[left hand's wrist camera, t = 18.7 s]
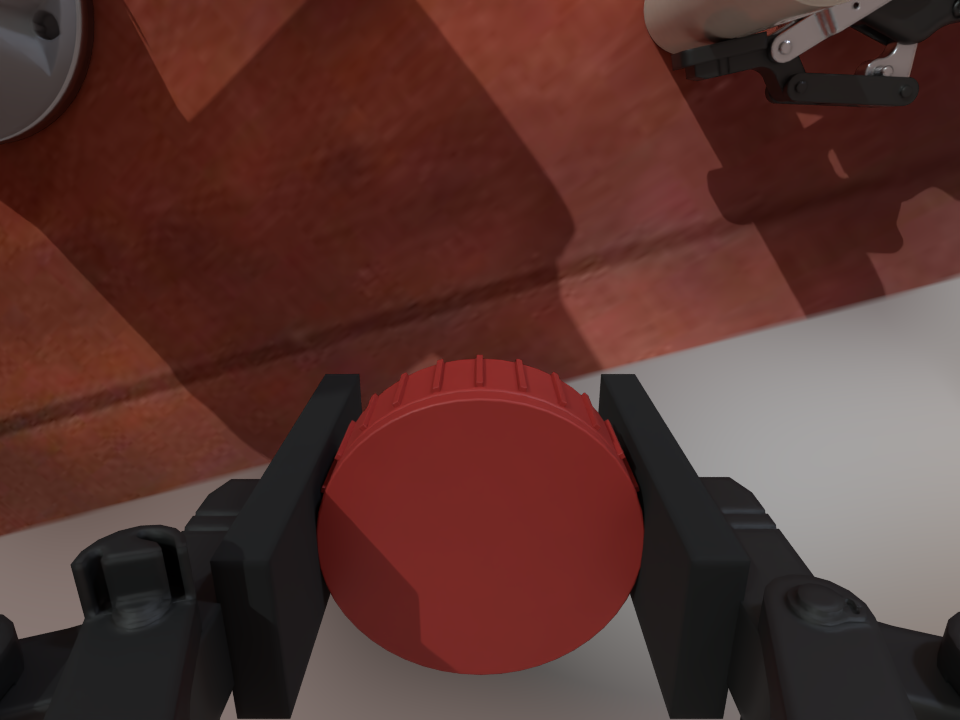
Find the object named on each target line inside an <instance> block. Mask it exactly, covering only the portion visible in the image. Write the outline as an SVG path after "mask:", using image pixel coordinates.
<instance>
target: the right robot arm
mask: <svg viewBox="0 0 960 720" xmlns="http://www.w3.org/2000/svg"><path fill="white" fill-rule="evenodd" d="M957 22H960V0H851V1H849V2H846V3H843V4H840V5H837V6H834V7H831V8H828V9H825V10H822V11H820V12H817V13H814V14H811V15H808V16H805V17H802V18H799V19H796V20H793V21H790V22H788V23H787V24H785V25H783V26H782V27H780V28H779V29H777V30H775V31H774V32H772V33H771V34H769V35H768V36H767V31H766V32H761V33H757V34H753V35H749V36H746V37H740V38H736V39H731V40H727V41H723V42H718V43H714V44H710V45H706V46H701V47H697V48H693V49H689V50H685V51H681V52H678V53H675V54H673V55H671V57H672V67H673V70H678V69H682V68H685V70H686V79H689V80H695V81H700V80H704V79H709V78H713V77H718V76H722V75H726V74H731V73H735V72H740V71H744V70H748V69H752V70H755V71H757V72H759V73H760V74H761V75H762V77H763V79H764V81H765V84H766V89H765V95H766V98H767V100H768V101H769V102H771V103H777V104H801V105H826V106H851V107H890V106H905V105H908V104H910V103H911V102H913V101H914V100H915V98H916V97H917V95H918V92H919V85H918V82H917V81H916V80H915V79H914V78H911V77H909V76H910V72H911V68H912V64H913V60H914V56H915V52H916V48H917V44H918V43H919V42H921V41H923V40H925V39H927V38H928V37H929V36H931V35H932V34H933V33H934V32H935V31H937V30H938V29H940V28H941V27H943V26H945V25H948V24H952V23H957ZM849 26H850V27H852V28H853V29H855V30H857V31H859V32H861V33H863V34H865V35H866V36H868V37H870V38H872V39H874V40H876V41H877V42H879V43H881V44H883V45H885V46H886V47H885V49H884V51H883V53H882V54H881V55H880V56H879V57H878V58H876V59H873V60H868V61H865V62H863V63H861V64H860V65H859V66H858V68H857V69H856V72H855V74H854V75H846V74H822V73H806V72H805V70H804V68H803V65H802V63H801V60H800V58H799V56H798V55H800V54H802V53H803V52H805V51H807V50H808V49H810V48H811V47H813V46H815V45H816V44H818V43H820V42H821V41H823V40H825V39H826V38H828V37H831V36H833V35H835V34H837V33H839V32H841V31H842V30H844V29H846V28H847V27H849Z"/></svg>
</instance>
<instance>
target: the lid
mask: <svg viewBox="0 0 960 720" xmlns="http://www.w3.org/2000/svg"><path fill="white" fill-rule="evenodd" d="M638 491H640V490H639V486H638V484H637V482H636V480H635V477H634V475H633V473H632V470H631V468H630V466H629V464H628V461H627V459H626V457H625V454H624V452H623V450H622V448H621V446H620V444H619V441H618V439H617V437H616V434H615V432H614V430H613V428H612V425H611V423H610V421H609V420H608V419H607V420H606V421H603V419H602V418H601V416H600V415H599V413H598V412H597V411H596V410H595V409H594V408H593V406H592V404H591V401H590V399H589V396H588V395H587V394H586V393H583V394H582V395H580V394H579V393H578V392H577V391H575V390H574V389H573V388H572V387H570V386H569V385H567V384H566V383H564V382H562V381H561V380H560V379H559V376H558V374H557V373H555V372H553V373H552V374H551V375H550V374H547V373H545V372H543V371H541V370H539V369H536V368H533V367H530V366H526V365H523V363H522V360H519V359H516V361H515V362H509V361H504V360H496V359H483V355H477V359H465V360H456V361H451V362H446V363H444V360H443V359H441V360H438V361H437V365H434V366H431V367H428V368H425V369H422V370H420V371H417V372H415V373H413V374H411V375H409V376H408V374H407V373H404V374H402V375H401V378H400V381H398V382H397V383H395V384H394V385H392V386H390V387H389V388H387V389H386V390H385V391H384V392H383V393H382V394H380V395H379V396H378V395H377V394H376V393H375V394H374V395H373V396H372V397H371V399H370V402H369V404H368V407H367V408H366V409H365V411H364V412H363V413H362V414H361V415H360V417H359V418H358V420H357V422H355V421H353V420H352V421H351V422H350V424H349V426H348V429H347V431H346V433H345V435H344V438H343V440H342V442H341V445H340V447H339V449H338V451H337V454H336V456H335V458H334V461H333V463H332V465H331V468H330V470H329V472H328V474H327V477H326V479H325V481H324V484H323V486H322V489H321V492H322V493H324V494H323V497H322V501H321V504H320V508H319V511H318V517H317V525H316V535H317V546H318V555H319V564H320V568H321V571H322V574H323V577H324V580H325V583H326V585H327V587H328V589H329V591H330V593H331V595H332V597H333V599H334V600H335V602H336V603H337V605H338V606H339V607H340V609H341V610H342V612H343V613H344V614H345V616H346V617H347V618H348V619H349V620H350V621H351V622H352V623H353V624H354V625H355V626H356V627H357V628H358V629H359V630H360V631H361V632H362V633H363V634H365V635H366V636H367V637H368V638H370V639H371V640H372V641H373V642H375V643H376V644H378V645H380V646H381V647H383V648H384V649H386V650H387V651H389V652H391V653H393V654H395V655H397V656H399V657H401V658H403V659H405V660H408V661H410V662H413V663H416V664H419V665H421V666H425V667H428V668H432V669H436V670H440V671H446V672H452V673H459V674H474V675H487V674H502V673H508V672H515V671H521V670H525V669H528V668H532V667H536V666H540V665H542V664H545V663H547V662H550V661H553V660H555V659H558V658H560V657H562V656H564V655H566V654H568V653H569V652H571V651H573V650H575V649H577V648H578V647H579V646H581V645H582V644H584V643H586V642H587V641H589V640H590V639H591V638H592V637H594V636H595V635H596V634H597V633H598V632H599V631H601V630H602V629H603V628H604V627H605V626H606V625H607V624H608V623H609V622H610V621H611V619H612V618H613V617H614V616H615V615H616V614H617V613H618V611H619V610H620V608H621V607H622V605H623V604H624V603H625V601H626V600H627V598H628V596H629V594H630V592H631V590H632V588H633V586H634V584H635V582H636V579H637V576H638V573H639V570H640V567H641V559H642V550H643V540H644V520H643V513H642V508H641V505H640V502H639V498H638V495H637V492H638Z"/></svg>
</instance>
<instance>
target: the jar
mask: <svg viewBox="0 0 960 720" xmlns="http://www.w3.org/2000/svg"><path fill="white" fill-rule="evenodd" d="M849 1H851V0H645V3H644V18H645V24H646V27H647V30H648V32H649V34H650V36H651V37H652V39H653V40H654V41H655V43H656V44H657V45H658V46H660V47H661V48H662V49H664V50H665V51H667V52H670V53H672V54H675V53H678V52H681V51H685V50H689V49H693V48H697V47H701V46H706V45H710V44H714V43H718V42H723V41H727V40H731V39H736V38H740V37H746V36H749V35H752V34H755V33H758V32H761V31H764V30H767V29H769V28H772V27H775V26H778V25H781V24H784V23H787V22H790V21H793V20H796V19H799V18H802V17H805V16H808V15H811V14H814V13H817V12H820V11H822V10H825V9H828V8H831V7H834V6H837V5H840V4H843V3H846V2H849Z"/></svg>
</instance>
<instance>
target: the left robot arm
mask: <svg viewBox="0 0 960 720" xmlns="http://www.w3.org/2000/svg"><path fill="white" fill-rule="evenodd" d="M93 40H94V13H93V3H92V0H0V144H4V143H9V142H14V141H17V140H21V139H24V138H26V137H29V136H31V135H33V134H36V133H37V132H39V131H41V130H43V129H44V128H46V127H47V126H49V125H50V124H51V123H53V122H54V121H55V120H56V119H57V118H58V117H59V116H60V115H61V114H62V113H63V112H64V111H65V110H66V109H67V108H68V106H69V105H70V104H71V103H72V101H73V100H74V98H75V96H76V95H77V93H78V92H79V90H80V88H81V85H82V83H83V81H84V79H85V76H86V73H87V70H88V67H89V63H90V59H91V55H92V48H93ZM598 413H599V415H600V416H601V418H602V419H603V421H606V420H607V419H608V420H609V421H610V423H611V425H612V428H613V430H614V432H615V434H616V437H617V439H618V441H619V444H620V446H621V448H622V450H623V452H624V454H625V457H626V459H627V461H628V464H629V466H630V468H631V470H632V473H633V475H634V477H635V480H636V482H637V484H638V486H639V490H640V491H638V492H637V495H638V498H639V502H640V505H641V508H642V513H643V520H644V540H643V550H642V559H641V567H640V570H639V573H638V576H637V579H636V582H635V584H634V586H633V588H632V590H631V592H630V595H631V598H632V601H633V604H634V607H635V611H636V614H637V617H638V620H639V623H640V626H641V629H642V632H643V636H644V639H645V642H646V645H647V648H648V651H649V654H650V657H651V661H652V664H653V667H654V670H655V673H656V676H657V679H658V682H659V686H660V689H661V692H662V695H663V698H664V701H665V704H666V707H667V711H668V714H669V717H670V719H723V716H724V710H725V704H726V698H727V693H728V688H729V690H730V692H731V695H732V697H733V699H734V702H735V704H736V706H737V708H738V710H739V713H740V715H741V718H740V720H960V612H958V613H957V614H955V615H954V616H953V617H951V618H950V619H949V620H948V623H947V626H946V629H945V632H944V635H943V637H941V636H936V635H932V634H927V633H922V632H918V631H913V630H909V629H904V628H900V627H895V626H891V625H888V624H884V623H881V622H877V621H876V618H875V617H874V615H873V614H872V612H871V611H870V609H869V608H868V606H867V605H866V604H865V603H864V602H863V601H862V600H860V599H859V598H858V597H857V596H855V595H854V594H853V593H852V592H850V591H849V590H847V589H845V588H843V587H841V586H839V585H837V584H835V583H833V582H831V581H828V580H824V579H820V578H817V577H814V576H813V574H812V573H811V572H810V570H809V569H808V568H807V566H806V565H805V563H804V562H803V561H802V559H801V558H800V557H799V555H798V554H797V553H796V551H795V550H794V549H793V547H792V546H791V545H790V543H789V542H788V540H787V539H786V538H785V536H784V535H783V534H782V532H781V531H780V530H779V529H776V524H775V523H774V522H773V520H772V519H771V518H770V516H769V515H768V514H765V509H764V508H763V507H762V505H761V504H760V503H759V501H758V500H757V499H756V497H755V496H754V495H753V493H752V492H750V491H749V490H747V489H746V488H745V487H743V486H742V485H740V484H739V483H737V482H736V481H734V480H733V479H731V478H730V477H698V475H697V473H696V472H695V470H694V469H693V467H692V465H691V464H690V462H689V461H688V459H687V458H686V456H685V454H684V453H683V451H682V449H681V448H680V446H679V445H678V443H677V441H676V440H675V438H674V437H673V435H672V433H671V432H670V430H669V428H668V427H667V425H666V424H665V422H664V420H663V419H662V417H661V416H660V414H659V412H658V411H657V409H656V408H655V406H654V404H653V403H652V401H651V399H650V398H649V396H648V395H647V393H646V391H645V390H644V388H643V387H642V385H641V383H640V382H639V380H638V379H637V377H636V375H635V374H601V384H600V398H599V412H598ZM361 414H362V407H361V392H360V378H359V374H325V376H324V378H323V379H322V381H321V382H320V384H319V386H318V387H317V389H316V390H315V392H314V394H313V395H312V397H311V398H310V400H309V402H308V403H307V405H306V407H305V408H304V410H303V411H302V413H301V415H300V416H299V418H298V419H297V421H296V423H295V424H294V426H293V427H292V429H291V431H290V432H289V434H288V436H287V437H286V439H285V440H284V442H283V444H282V445H281V447H280V448H279V450H278V452H277V453H276V455H275V456H274V458H273V460H272V461H271V463H270V464H269V466H268V468H267V469H266V471H265V473H264V474H263V476H262V477H261V479H231V480H229V481H228V482H226V483H225V484H224V485H222V486H221V487H219V488H218V489H216V490H215V491H213V492H212V493H210V494H209V495H208V496H207V498H206V499H205V500H204V502H203V503H202V504H201V506H200V507H199V509H198V510H197V511H196V515H195V516H193V517H192V518H191V519H190V521H189V522H188V523H187V525H186V526H185V531H182V532H180V531H179V530H177V529H176V528H172V527H168V526H163V525H145V526H138V527H133V528H129V529H125V530H121V531H118V532H115V533H113V534H111V535H108V536H106V537H104V538H101V539H99V540H97V541H96V542H94V543H93V544H92V545H90V546H89V547H87V548H86V549H84V550H83V551H81V553H80V554H79V555H78V556H77V557H76V559H75V560H74V561H73V562H72V564H71V568H72V572H73V576H74V579H75V583H76V587H77V591H78V594H79V598H80V602H81V606H82V609H83V613H84V617H85V619H84V622H83V624H82V625H78V626H75V627H71V628H68V629H64V630H59V631H54V632H50V633H45V634H41V635H37V636H32V637H27V638H23V639H18V637H17V634H16V631H15V627H14V624H13V622H12V621H10V620H9V619H8V618H7V617H5V616H4V615H1V614H0V720H220V717H221V714H222V712H223V710H224V708H225V706H226V703H227V701H228V699H229V696H230V694H231V692H232V691H233V696H234V702H235V708H236V713H237V718H238V719H290V718H291V715H292V712H293V709H294V705H295V702H296V699H297V696H298V693H299V690H300V686H301V683H302V680H303V677H304V674H305V671H306V668H307V665H308V662H309V659H310V656H311V652H312V649H313V646H314V643H315V640H316V637H317V633H318V630H319V627H320V624H321V621H322V618H323V615H324V612H325V609H326V605H327V602H328V599H329V596H330V591H329V589H328V587H327V585H326V583H325V580H324V577H323V574H322V571H321V568H320V564H319V555H318V546H317V535H316V525H317V517H318V511H319V508H320V504H321V501H322V497H323V494H324V493H322V492H321V489H322V486H323V484H324V481H325V479H326V477H327V474H328V472H329V470H330V468H331V465H332V463H333V461H334V458H335V456H336V454H337V451H338V449H339V447H340V445H341V442H342V440H343V438H344V435H345V433H346V431H347V429H348V426H349V424H350V422H351V421H352V420H353V421H355V422H357V420H358V418H359V417H360V415H361Z"/></svg>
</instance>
